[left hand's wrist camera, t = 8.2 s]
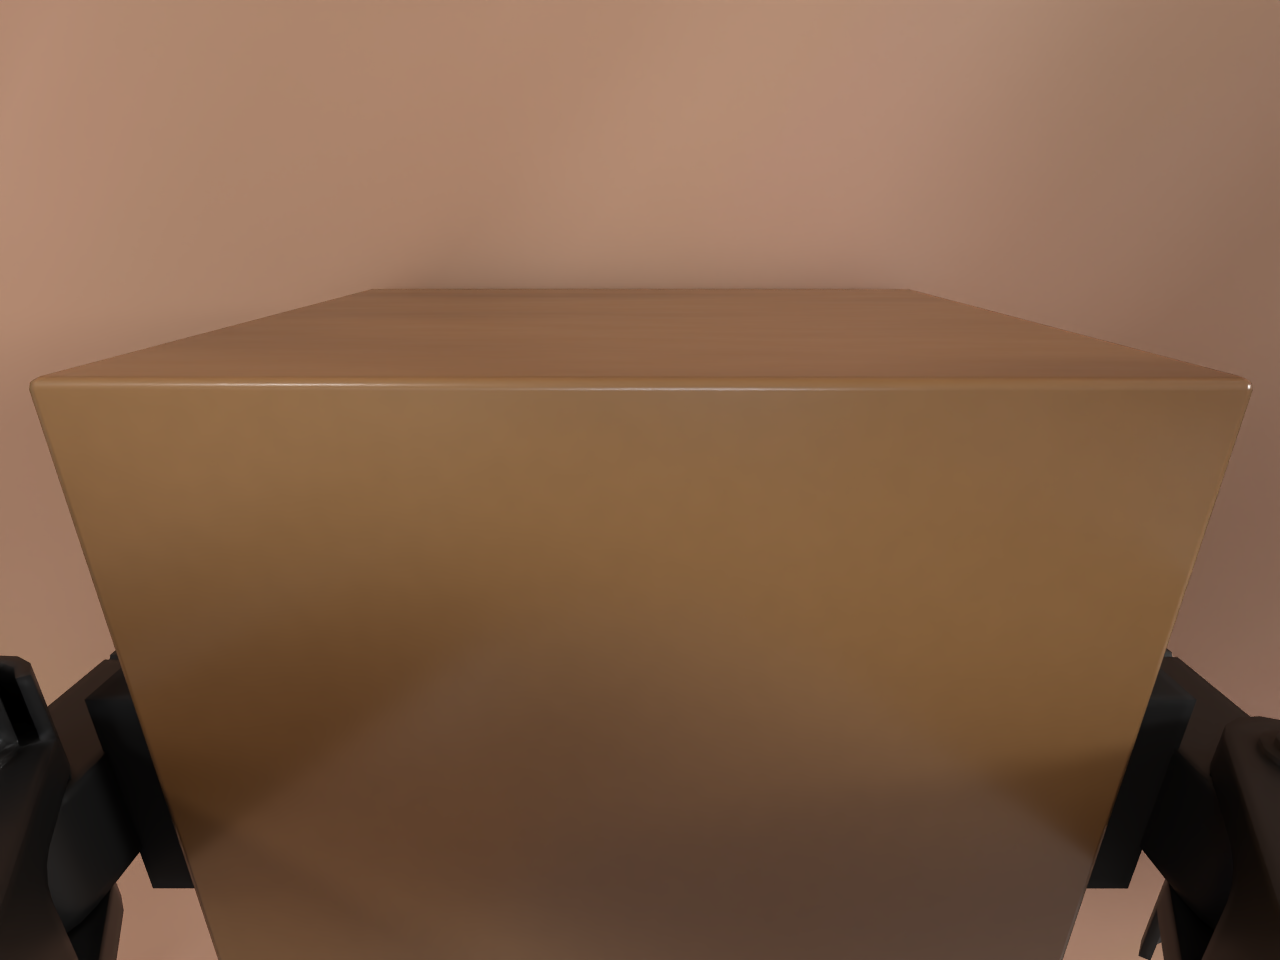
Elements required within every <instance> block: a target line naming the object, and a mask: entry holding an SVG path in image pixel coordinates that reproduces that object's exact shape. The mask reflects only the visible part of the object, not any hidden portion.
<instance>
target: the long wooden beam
mask: <svg viewBox="0 0 1280 960" xmlns="http://www.w3.org/2000/svg"><path fill="white" fill-rule="evenodd" d="M29 390H30V393H31V396H32V399H33V402H34V405H35V408H36V411H37V414H38V417H39V420H40V423H41V426H42V430H43V433H44V436H45V439H46V442H47V445H48V448H49V451H50V454H51V457H52V460H53V463H54V466H55V469H56V472H57V475H58V478H59V481H60V484H61V487H62V490H63V493H64V496H65V499H66V502H67V505H68V508H69V511H70V514H71V517H72V520H73V523H74V526H75V529H76V532H77V535H78V538H79V541H80V544H81V547H82V550H83V553H84V556H85V559H86V562H87V565H88V568H89V571H90V574H91V577H92V580H93V583H94V586H95V589H96V592H97V595H98V598H99V601H100V604H101V607H102V610H103V613H104V616H105V619H106V622H107V625H108V628H109V631H110V634H111V637H112V640H113V644H114V647H115V650H116V653H117V656H118V659H119V662H120V665H121V668H122V671H123V674H124V677H125V680H126V683H127V686H128V689H129V692H130V695H131V698H132V701H133V704H134V707H135V710H136V713H137V716H138V719H139V722H140V725H141V728H142V731H143V734H144V737H145V740H146V743H147V746H148V749H149V752H150V755H151V758H152V761H153V764H154V767H155V770H156V773H157V776H158V779H159V782H160V785H161V788H162V791H163V794H164V797H165V800H166V803H167V806H168V809H169V812H170V815H171V818H172V821H173V824H174V827H175V830H176V833H177V836H178V839H179V842H180V845H181V848H182V851H183V855H184V858H185V861H186V864H187V867H188V870H189V873H190V876H191V879H192V882H193V885H194V888H195V891H196V894H197V897H198V900H199V903H200V906H201V909H202V912H203V915H204V918H205V921H206V924H207V927H208V930H209V933H210V936H211V939H212V942H213V945H214V948H215V951H216V954H217V957H218V960H1063V957H1064V954H1065V951H1066V948H1067V945H1068V942H1069V939H1070V936H1071V933H1072V930H1073V927H1074V924H1075V921H1076V918H1077V915H1078V912H1079V909H1080V906H1081V903H1082V900H1083V897H1084V894H1085V891H1086V888H1087V885H1088V882H1089V879H1090V876H1091V873H1092V870H1093V867H1094V864H1095V861H1096V858H1097V855H1098V852H1099V849H1100V846H1101V843H1102V840H1103V837H1104V834H1105V831H1106V828H1107V825H1108V822H1109V819H1110V816H1111V813H1112V810H1113V807H1114V804H1115V801H1116V798H1117V795H1118V792H1119V789H1120V786H1121V783H1122V780H1123V777H1124V774H1125V771H1126V768H1127V765H1128V762H1129V759H1130V756H1131V753H1132V750H1133V747H1134V744H1135V741H1136V738H1137V735H1138V732H1139V729H1140V726H1141V723H1142V720H1143V717H1144V714H1145V711H1146V708H1147V705H1148V702H1149V699H1150V696H1151V693H1152V690H1153V687H1154V684H1155V681H1156V678H1157V675H1158V672H1159V669H1160V666H1161V663H1162V660H1163V657H1164V654H1165V651H1166V648H1167V645H1168V642H1169V639H1170V636H1171V633H1172V630H1173V627H1174V624H1175V621H1176V618H1177V615H1178V612H1179V609H1180V606H1181V603H1182V600H1183V597H1184V594H1185V591H1186V588H1187V585H1188V582H1189V579H1190V576H1191V573H1192V570H1193V567H1194V564H1195V561H1196V558H1197V555H1198V552H1199V549H1200V546H1201V543H1202V540H1203V537H1204V534H1205V531H1206V528H1207V525H1208V522H1209V519H1210V516H1211V513H1212V510H1213V507H1214V504H1215V501H1216V498H1217V495H1218V492H1219V489H1220V486H1221V483H1222V480H1223V477H1224V474H1225V471H1226V468H1227V465H1228V462H1229V459H1230V456H1231V453H1232V450H1233V447H1234V444H1235V441H1236V438H1237V435H1238V432H1239V429H1240V426H1241V423H1242V420H1243V417H1244V414H1245V411H1246V408H1247V405H1248V402H1249V399H1250V396H1251V393H1252V383H1251V382H1250V381H1248V380H1247V379H1245V378H1242V377H1240V376H1236V375H1233V374H1229V373H1225V372H1221V371H1217V370H1213V369H1210V368H1206V367H1202V366H1198V365H1194V364H1191V363H1187V362H1183V361H1179V360H1175V359H1172V358H1168V357H1164V356H1160V355H1156V354H1153V353H1149V352H1145V351H1141V350H1137V349H1134V348H1130V347H1126V346H1122V345H1118V344H1115V343H1111V342H1107V341H1103V340H1099V339H1096V338H1092V337H1088V336H1084V335H1080V334H1077V333H1073V332H1069V331H1065V330H1061V329H1058V328H1054V327H1050V326H1046V325H1042V324H1039V323H1035V322H1031V321H1027V320H1023V319H1020V318H1016V317H1012V316H1008V315H1004V314H1001V313H997V312H993V311H989V310H985V309H982V308H978V307H974V306H970V305H966V304H963V303H959V302H955V301H951V300H947V299H944V298H940V297H936V296H932V295H928V294H925V293H921V292H917V291H913V290H909V289H371V290H367V291H363V292H359V293H356V294H352V295H348V296H344V297H340V298H337V299H333V300H329V301H325V302H321V303H318V304H314V305H310V306H306V307H302V308H299V309H295V310H291V311H287V312H283V313H280V314H276V315H272V316H268V317H264V318H260V319H257V320H253V321H249V322H245V323H241V324H238V325H234V326H230V327H226V328H222V329H219V330H215V331H211V332H207V333H203V334H200V335H196V336H192V337H188V338H184V339H181V340H177V341H173V342H169V343H165V344H162V345H158V346H154V347H150V348H146V349H143V350H139V351H135V352H131V353H127V354H124V355H120V356H116V357H112V358H108V359H105V360H101V361H97V362H93V363H89V364H86V365H82V366H78V367H74V368H70V369H67V370H63V371H59V372H55V373H51V374H48V375H44V376H40V377H38V378H36V379H34V380H33V381H31V382H30V388H29Z"/></svg>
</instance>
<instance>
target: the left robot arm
mask: <svg viewBox="0 0 1280 960" xmlns="http://www.w3.org/2000/svg"><path fill="white" fill-rule="evenodd" d="M1142 850H1143V851H1144V852H1145V854H1146V855H1147V856H1148V857H1149V859H1150V860H1151V861H1152V862H1153V864H1154V865H1155V866H1156V868H1157V869H1158V870H1159V871H1160V873H1161V874H1162V875H1163V876H1164V878H1165V881H1164V884H1163V886H1162V889H1161V891H1160V894H1159V896H1158V899H1157V902H1156V904H1155V907H1154V909H1153V912H1152V914H1151V917H1150V919H1149V922H1148V925H1147V927H1146V930H1145V932H1144V935H1143V937H1142V940H1141V945H1140V950H1139V956H1140V957H1143V958H1145V959H1148V960H1151V957H1152V955H1153V953H1154V950H1155V948H1156V945H1157V944H1159V943H1162V949H1163V956H1164V960H1280V720H1277V719H1271V718H1266V717H1260V716H1258V717H1250V716H1249V715H1247V714H1246V713H1245V712H1244V711H1242V710H1241V709H1240V708H1239V707H1238V706H1236V705H1235V704H1234V703H1233V702H1231V701H1230V700H1229V699H1228V698H1227V697H1225V696H1224V695H1223V694H1222V693H1220V692H1219V691H1218V690H1217V689H1216V688H1214V687H1213V686H1212V685H1211V684H1210V683H1208V682H1207V681H1206V680H1205V679H1203V678H1202V677H1201V676H1200V675H1199V674H1197V673H1196V672H1195V671H1194V670H1192V669H1191V668H1190V667H1189V666H1188V665H1186V664H1185V663H1184V662H1183V661H1181V660H1180V659H1179V658H1178V657H1172V652H1170V651H1169V650H1168V649H1167V648H1166V651H1165V654H1164V657H1163V660H1162V663H1161V666H1160V669H1159V672H1158V675H1157V678H1156V681H1155V684H1154V687H1153V690H1152V693H1151V696H1150V699H1149V702H1148V705H1147V708H1146V711H1145V714H1144V717H1143V720H1142V723H1141V726H1140V729H1139V732H1138V735H1137V738H1136V741H1135V744H1134V747H1133V750H1132V753H1131V756H1130V759H1129V762H1128V765H1127V768H1126V771H1125V774H1124V777H1123V780H1122V783H1121V786H1120V789H1119V792H1118V795H1117V798H1116V801H1115V804H1114V807H1113V810H1112V813H1111V816H1110V819H1109V822H1108V825H1107V828H1106V831H1105V834H1104V837H1103V840H1102V843H1101V846H1100V849H1099V852H1098V855H1097V858H1096V861H1095V864H1094V867H1093V870H1092V873H1091V876H1090V879H1089V882H1088V885H1087V888H1128V886H1129V884H1130V881H1131V878H1132V875H1133V873H1134V870H1135V867H1136V865H1137V862H1138V859H1139V856H1140V854H1141V851H1142ZM139 852H140V854H141V856H142V859H143V862H144V865H145V867H146V870H147V873H148V876H149V878H150V881H151V884H152V887H153V888H194V885H193V882H192V879H191V876H190V873H189V870H188V867H187V864H186V861H185V858H184V855H183V851H182V848H181V845H180V842H179V839H178V836H177V833H176V830H175V827H174V824H173V821H172V818H171V815H170V812H169V809H168V806H167V803H166V800H165V797H164V794H163V791H162V788H161V785H160V782H159V779H158V776H157V773H156V770H155V767H154V764H153V761H152V758H151V755H150V752H149V749H148V746H147V743H146V740H145V737H144V734H143V731H142V728H141V725H140V722H139V719H138V716H137V713H136V710H135V707H134V704H133V701H132V698H131V695H130V692H129V689H128V686H127V683H126V680H125V677H124V674H123V671H122V668H121V665H120V662H119V659H118V656H117V653H116V651H114V652H113V653H112V654H111V655H110V659H109V660H104V661H102V662H101V663H100V664H99V665H97V666H96V667H95V668H94V669H93V670H91V671H90V672H89V673H88V674H87V675H85V676H84V677H83V678H82V679H81V680H79V681H78V682H77V683H76V684H74V685H73V686H72V687H71V688H70V689H68V690H67V691H66V692H65V693H64V694H62V695H61V696H60V697H59V698H58V699H56V700H55V701H54V702H53V703H51V704H50V705H49V706H48V707H47V705H46V702H45V700H44V697H43V694H42V692H41V689H40V687H39V684H38V682H37V679H36V676H35V674H34V671H33V669H32V666H31V664H30V663H29V662H27V661H25V660H23V659H22V658H20V657H18V656H0V960H116V959H117V952H118V945H119V938H120V931H121V925H122V918H123V911H124V910H123V904H122V898H121V894H120V891H119V889H118V886H117V884H116V881H117V880H118V879H119V878H120V876H121V875H122V874H123V873H124V871H125V870H126V869H127V867H128V866H129V865H130V864H131V862H132V861H133V860H134V859H135V857H136V856H137V855H138V853H139Z"/></svg>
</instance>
